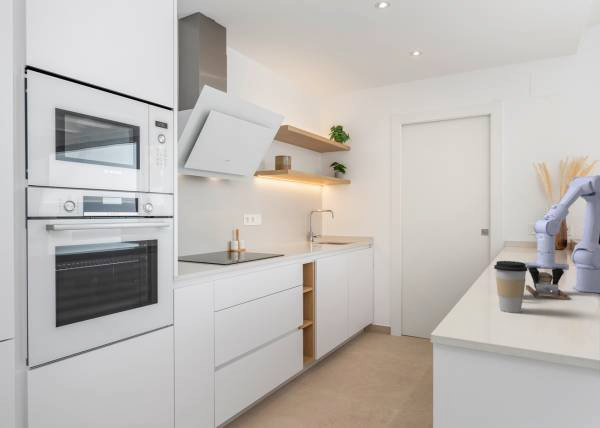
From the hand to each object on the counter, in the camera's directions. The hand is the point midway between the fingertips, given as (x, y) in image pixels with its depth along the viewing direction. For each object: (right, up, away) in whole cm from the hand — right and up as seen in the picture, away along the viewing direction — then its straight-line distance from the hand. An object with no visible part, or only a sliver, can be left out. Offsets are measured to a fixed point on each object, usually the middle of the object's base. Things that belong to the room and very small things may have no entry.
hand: (545, 288), depth 150 cm
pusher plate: (-2, -2, -5) cm, 6 cm away
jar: (+1, -1, +4) cm, 4 cm away
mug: (-17, -2, -8) cm, 19 cm away
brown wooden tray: (0, -2, 0) cm, 2 cm away
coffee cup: (-26, -3, -24) cm, 35 cm away
